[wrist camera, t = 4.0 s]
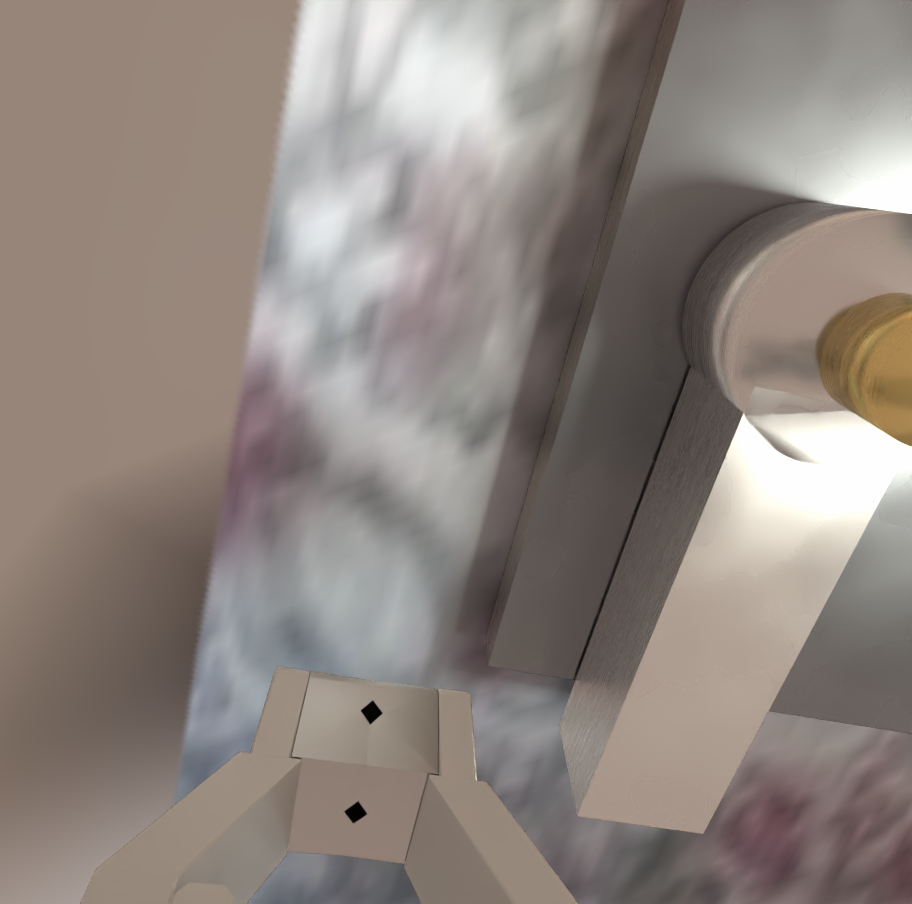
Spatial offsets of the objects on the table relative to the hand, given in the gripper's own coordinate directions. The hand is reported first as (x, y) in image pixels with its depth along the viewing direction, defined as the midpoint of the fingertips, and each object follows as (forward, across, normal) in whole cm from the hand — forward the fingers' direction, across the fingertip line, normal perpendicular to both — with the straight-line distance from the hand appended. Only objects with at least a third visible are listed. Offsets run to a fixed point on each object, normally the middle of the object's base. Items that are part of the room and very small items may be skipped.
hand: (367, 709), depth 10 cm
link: (+6, +7, +1) cm, 9 cm away
